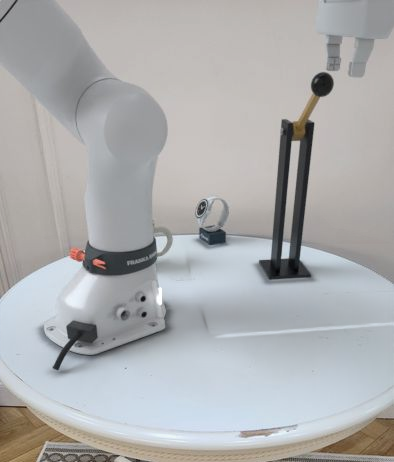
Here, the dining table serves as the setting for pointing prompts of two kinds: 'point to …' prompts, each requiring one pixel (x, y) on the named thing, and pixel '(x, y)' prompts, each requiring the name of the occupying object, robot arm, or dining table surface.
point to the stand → (293, 265)
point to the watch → (213, 232)
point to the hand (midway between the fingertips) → (343, 73)
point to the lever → (312, 102)
